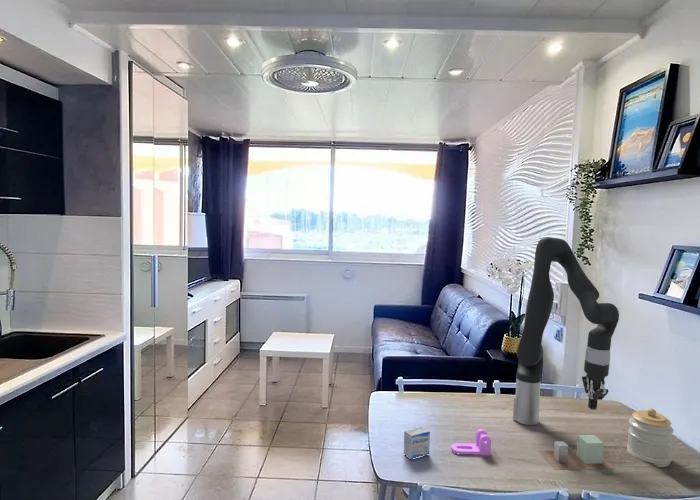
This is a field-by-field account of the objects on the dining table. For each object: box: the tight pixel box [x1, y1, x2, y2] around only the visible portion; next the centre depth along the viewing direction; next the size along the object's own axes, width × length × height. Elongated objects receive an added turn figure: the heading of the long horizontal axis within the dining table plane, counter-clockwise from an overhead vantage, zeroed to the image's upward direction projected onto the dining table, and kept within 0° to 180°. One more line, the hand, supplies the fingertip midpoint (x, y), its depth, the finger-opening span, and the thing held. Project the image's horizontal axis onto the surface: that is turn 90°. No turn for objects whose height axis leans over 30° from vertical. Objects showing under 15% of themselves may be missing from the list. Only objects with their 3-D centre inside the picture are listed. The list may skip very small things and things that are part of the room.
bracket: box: [450, 428, 492, 456], centre depth 162 cm, size 13×6×7 cm, turn 90°
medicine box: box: [403, 426, 431, 460], centre depth 158 cm, size 8×4×9 cm, turn 118°
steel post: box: [553, 440, 570, 462], centre depth 154 cm, size 3×3×6 cm
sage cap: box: [576, 434, 605, 464], centre depth 155 cm, size 6×6×7 cm
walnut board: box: [537, 449, 615, 471], centre depth 155 cm, size 20×12×2 cm, turn 94°
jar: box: [626, 407, 675, 468], centre depth 159 cm, size 13×13×18 cm
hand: (592, 408), depth 160 cm, fingers closed
